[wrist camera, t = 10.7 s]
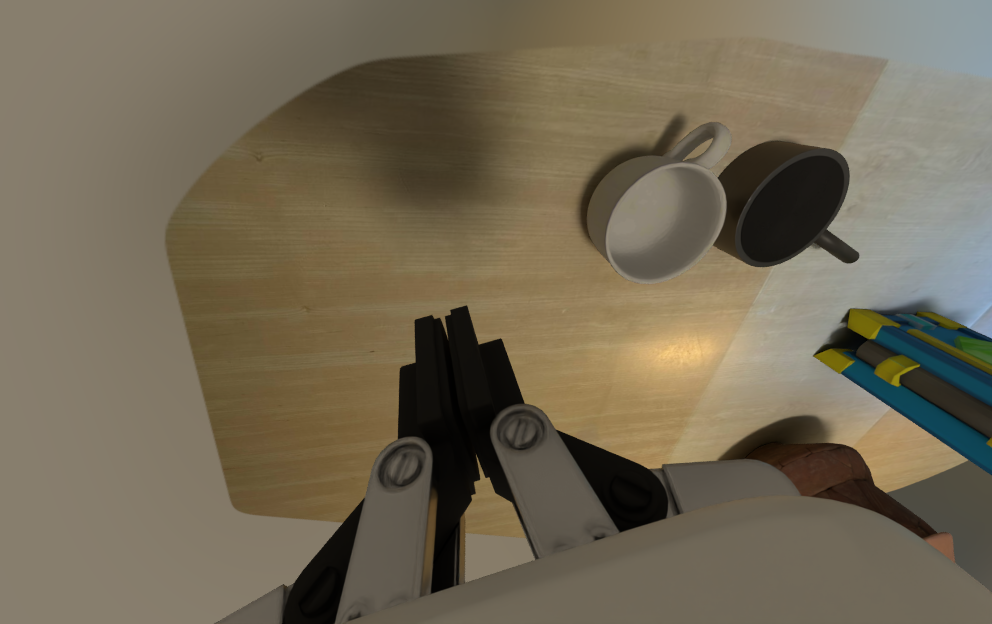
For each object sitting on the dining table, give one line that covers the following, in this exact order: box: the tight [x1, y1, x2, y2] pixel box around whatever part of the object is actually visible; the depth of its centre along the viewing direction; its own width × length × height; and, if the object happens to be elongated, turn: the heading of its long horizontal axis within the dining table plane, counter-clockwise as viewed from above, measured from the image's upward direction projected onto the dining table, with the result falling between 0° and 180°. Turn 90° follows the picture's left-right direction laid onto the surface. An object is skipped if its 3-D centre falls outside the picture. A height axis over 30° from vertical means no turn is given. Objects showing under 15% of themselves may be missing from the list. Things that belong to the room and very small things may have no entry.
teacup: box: [587, 122, 732, 284], centre depth 32 cm, size 14×11×8 cm
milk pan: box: [713, 141, 859, 267], centre depth 39 cm, size 12×21×5 cm, turn 64°
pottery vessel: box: [745, 443, 955, 563], centre depth 62 cm, size 26×26×30 cm
